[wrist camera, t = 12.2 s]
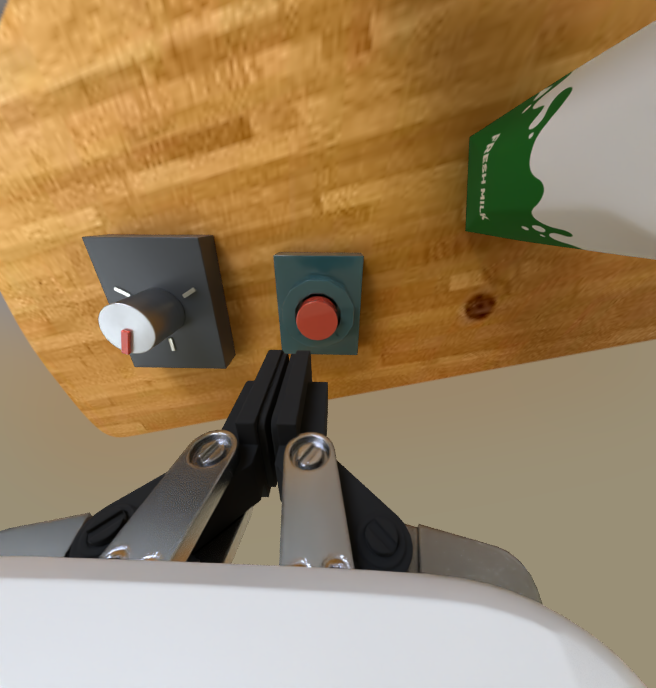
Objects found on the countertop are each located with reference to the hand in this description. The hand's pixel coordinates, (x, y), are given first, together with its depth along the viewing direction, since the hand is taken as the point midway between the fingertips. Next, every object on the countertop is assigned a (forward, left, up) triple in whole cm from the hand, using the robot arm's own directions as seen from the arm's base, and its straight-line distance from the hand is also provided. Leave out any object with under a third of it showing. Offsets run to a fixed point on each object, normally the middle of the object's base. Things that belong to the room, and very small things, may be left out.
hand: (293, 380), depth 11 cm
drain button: (+2, 0, -13) cm, 13 cm away
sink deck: (+2, -15, -17) cm, 22 cm away
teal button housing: (+2, 0, -17) cm, 17 cm away
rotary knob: (+2, -15, -14) cm, 20 cm away
